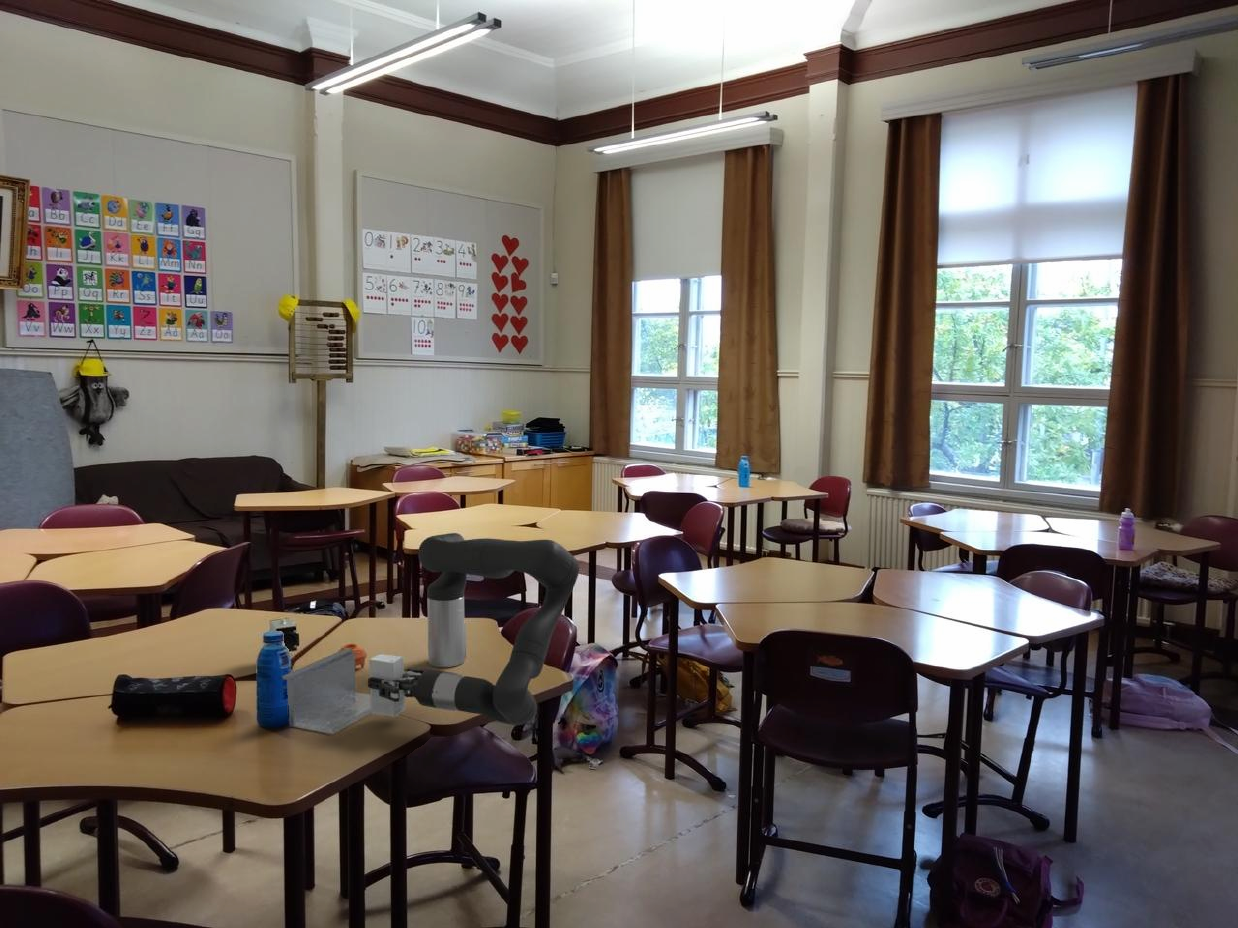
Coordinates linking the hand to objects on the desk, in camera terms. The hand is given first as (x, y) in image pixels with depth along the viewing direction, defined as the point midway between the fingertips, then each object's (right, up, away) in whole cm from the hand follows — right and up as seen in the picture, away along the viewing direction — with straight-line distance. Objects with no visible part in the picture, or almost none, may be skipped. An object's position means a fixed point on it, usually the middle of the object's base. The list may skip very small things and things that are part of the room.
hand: (376, 678), depth 188 cm
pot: (-15, -6, +32) cm, 37 cm away
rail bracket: (-9, -9, +4) cm, 13 cm away
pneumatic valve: (-33, -5, +35) cm, 48 cm away
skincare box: (+2, -7, 0) cm, 8 cm away
